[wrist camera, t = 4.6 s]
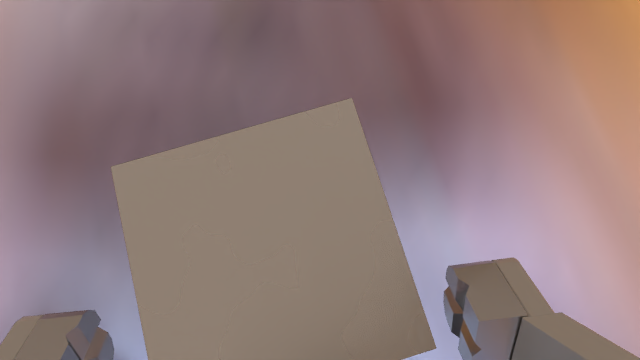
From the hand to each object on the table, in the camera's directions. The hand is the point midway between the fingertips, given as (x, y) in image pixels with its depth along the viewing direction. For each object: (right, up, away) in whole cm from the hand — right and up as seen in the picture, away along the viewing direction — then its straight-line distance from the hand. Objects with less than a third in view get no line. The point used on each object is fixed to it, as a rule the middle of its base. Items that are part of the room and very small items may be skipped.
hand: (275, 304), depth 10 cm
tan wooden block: (0, 0, +6) cm, 6 cm away
